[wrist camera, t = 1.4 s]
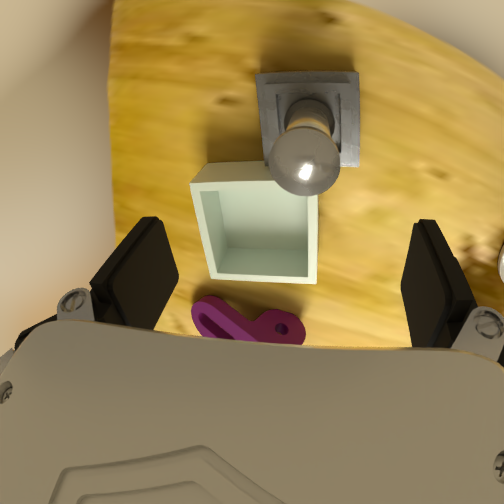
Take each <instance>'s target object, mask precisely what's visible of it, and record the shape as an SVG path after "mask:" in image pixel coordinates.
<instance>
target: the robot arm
mask: <svg viewBox="0 0 504 504" xmlns="http://www.w3.org/2000/svg"><path fill="white" fill-rule="evenodd" d="M498 272H499V275H500V277H501V279H502V281H503V282H504V245H503V247H502V249H501V252H500V255H499V259H498ZM178 279H179V274H178V270H177V267H176V264H175V261H174V257H173V254H172V251H171V248H170V244H169V241H168V238H167V234H166V231H165V228H164V224H163V222H162V221H161V220H159V218H158V217H142V218H141V219H140V221H139V222H138V223H137V224H136V225H135V226H134V228H133V229H132V230H131V231H130V232H129V233H128V235H127V236H126V237H125V238H124V239H123V241H122V242H121V243H120V244H119V245H118V247H117V248H116V249H115V250H114V252H113V253H112V254H111V255H110V257H109V258H108V259H107V260H106V262H105V263H104V264H103V265H102V267H101V268H100V269H99V271H98V272H97V273H96V274H95V276H94V277H93V278H92V280H91V281H90V282H89V283H90V285H91V287H92V289H91V291H90V292H89V290H87V289H85V288H76V289H73V290H71V291H69V292H68V293H66V294H65V295H64V296H63V297H62V298H61V299H60V301H59V303H58V306H57V314H56V315H54V316H52V317H50V318H48V319H46V320H44V321H42V322H40V323H38V324H36V325H34V326H32V327H30V328H28V329H26V330H24V331H22V332H21V333H20V335H19V337H18V339H17V340H16V343H15V350H13V349H12V348H11V349H10V350H9V351H7V352H6V353H5V354H4V355H2V356H1V357H0V504H504V318H503V317H502V315H501V314H500V313H498V312H497V311H496V310H494V309H492V308H489V307H478V306H477V303H476V301H475V299H474V296H473V294H472V291H471V289H470V287H469V284H468V282H467V280H466V278H465V275H464V273H463V271H462V269H461V267H460V265H459V262H458V260H457V259H456V257H454V256H453V254H452V252H451V250H450V248H449V246H448V244H447V242H446V240H445V238H444V236H443V234H442V232H441V230H440V228H439V226H438V224H437V223H436V221H435V220H428V219H420V220H419V222H418V223H414V225H413V230H412V235H411V240H410V245H409V250H408V254H407V259H406V263H405V267H404V271H403V276H402V280H401V293H402V297H403V302H404V306H405V311H406V316H407V321H408V326H409V331H410V337H411V343H412V347H338V346H313V345H294V344H278V343H264V342H252V341H240V340H230V339H220V338H211V337H202V336H193V335H185V334H177V333H170V332H162V331H155V330H153V329H154V327H155V325H156V323H157V321H158V319H159V317H160V315H161V313H162V311H163V309H164V308H165V306H166V304H167V302H168V300H169V298H170V296H171V294H172V292H173V290H174V288H175V286H176V284H177V283H178Z"/></svg>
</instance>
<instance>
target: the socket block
mask: <svg viewBox="0 0 504 504" xmlns="http://www.w3.org/2000/svg"><path fill="white" fill-rule="evenodd" d="M255 79H256V87H257V97H258V106H259V115H260V124H261V134H262V144H263V154H264V164H265V166H269V154H270V151H271V149H272V147H273V144H274V142H275V141H276V139H277V138H278V137H279V136H280V135H281V134H282V133H283V132H285V129H284V117H285V114H286V112H287V110H288V108H289V107H290V106H291V104H292V103H293V102H295V101H296V100H298V99H301V98H304V97H313V98H317V99H320V100H322V101H323V102H325V103H326V104H327V105H328V106H329V107H330V109H331V111H332V113H333V116H334V120H335V130H334V133H333V136H332V137H331V138H332V140H333V141H334V142H335V144H336V146H337V148H338V151H339V156H340V167H359V155H360V92H359V73H358V72H356V71H339V70H302V71H277V72H262V73H258V74H255Z"/></svg>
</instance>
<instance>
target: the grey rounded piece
mask: <svg viewBox="0 0 504 504" xmlns="http://www.w3.org/2000/svg"><path fill="white" fill-rule="evenodd" d="M284 129H285V132H283V133H282V134H281V135H280V136H279V137H278V138H277V139H276V141H275V142H274V144H273V147H272V149H271V151H270V154H269V169H270V172H271V175H272V177H273V179H274V180H275V182H276V183H277V184H278V185H279V186H280V187H281V188H283V189H284V190H285V191H287V192H289V193H291V194H294V195H298V196H314V195H318V194H320V193H323V192H325V191H326V190H328V189H329V188H330V187H331V186H332V185H333V184H334V183H335V181H336V179H337V178H338V175H339V172H340V156H339V151H338V148H337V146H336V144H335V142H334V141H333V140H332V138H331V137H332V136H333V133H334V130H335V120H334V116H333V113H332V111H331V109H330V107H329V106H328V105H327V104H326V103H325V102H323V101H322V100H320V99H317V98H313V97H304V98H301V99H298V100H296V101H295V102H293V103H292V104H291V106H290V107H289V108H288V110H287V112H286V114H285V117H284Z"/></svg>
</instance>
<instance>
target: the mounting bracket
mask: <svg viewBox="0 0 504 504" xmlns="http://www.w3.org/2000/svg"><path fill="white" fill-rule="evenodd" d="M191 315H192V319H193V322H194V324H195V326H196V328H197V329H198V331H199V332H200V334H201V335H202V336H203V337H211V338H220V339H230V340H240V341H252V342H264V343H278V344H294V345H302V344H303V342H304V340H305V337H306V331H305V327H304V325H303V323H302V322H301V321H300V319H299V318H298V317H296V316H295V315H294V314H291V313H288V312H285V311H281V310H278V309H272V310H268V311H266V312H264V313H263V314H261V315H260V316H259V317H258V318H257V319H256V320H255V321H249V320H248V319H246V318H245V317H244V316H242V315H241V314H240V313H239V312H237V311H236V310H235V309H233V308H232V307H231V306H229V305H228V304H227V303H226V302H224V301H223V300H221V299H220V298H218V297H215V296H211V295H207V296H204V297H203V298H201V299H200V300H199V301H197V302H196V303H194V304H193V306H192V309H191ZM211 319H212V320H211ZM277 332H279V333H281V334H282V335H281V334H278V333H277Z"/></svg>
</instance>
